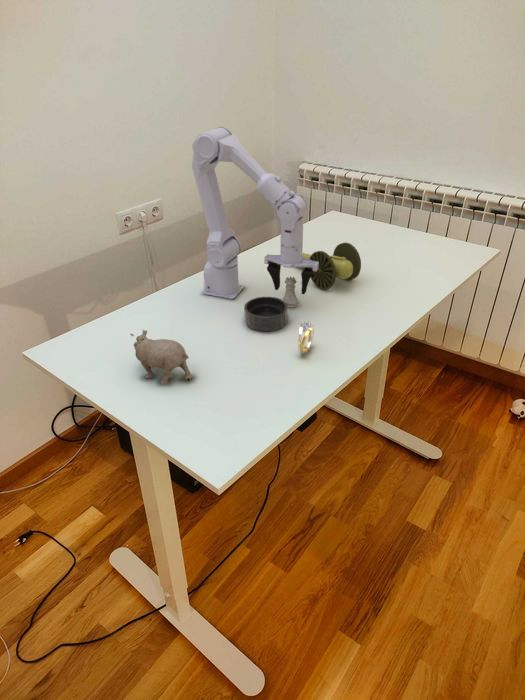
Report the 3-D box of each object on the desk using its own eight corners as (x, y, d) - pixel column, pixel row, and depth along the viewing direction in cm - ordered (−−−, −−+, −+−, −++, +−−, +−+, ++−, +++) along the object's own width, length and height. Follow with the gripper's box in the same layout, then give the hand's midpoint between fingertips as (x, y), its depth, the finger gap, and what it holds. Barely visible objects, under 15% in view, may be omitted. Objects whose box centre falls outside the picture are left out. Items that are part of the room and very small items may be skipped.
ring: (304, 361, 117) (305, 332, 113) (292, 357, 119) (293, 328, 114) (317, 347, 122) (319, 318, 118) (306, 343, 124) (307, 315, 119)
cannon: (279, 268, 160) (280, 234, 153) (307, 258, 166) (309, 225, 159) (334, 297, 143) (337, 260, 137) (363, 285, 149) (367, 250, 143)
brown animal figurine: (177, 390, 105) (145, 324, 103) (144, 400, 114) (115, 340, 113) (203, 375, 110) (173, 313, 108) (170, 386, 120) (143, 329, 118)
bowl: (238, 328, 130) (237, 313, 127) (254, 308, 138) (254, 293, 136) (278, 336, 126) (278, 320, 124) (292, 315, 135) (293, 300, 132)
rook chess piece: (296, 309, 138) (297, 282, 133) (280, 307, 139) (281, 281, 134) (299, 301, 141) (300, 275, 137) (283, 300, 142) (283, 274, 138)
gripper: (259, 245, 129) (260, 292, 137) (314, 253, 125) (311, 301, 132) (269, 236, 134) (269, 281, 142) (321, 243, 130) (319, 289, 138)
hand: (290, 290), depth 137 cm, fingers open, 7 cm apart
